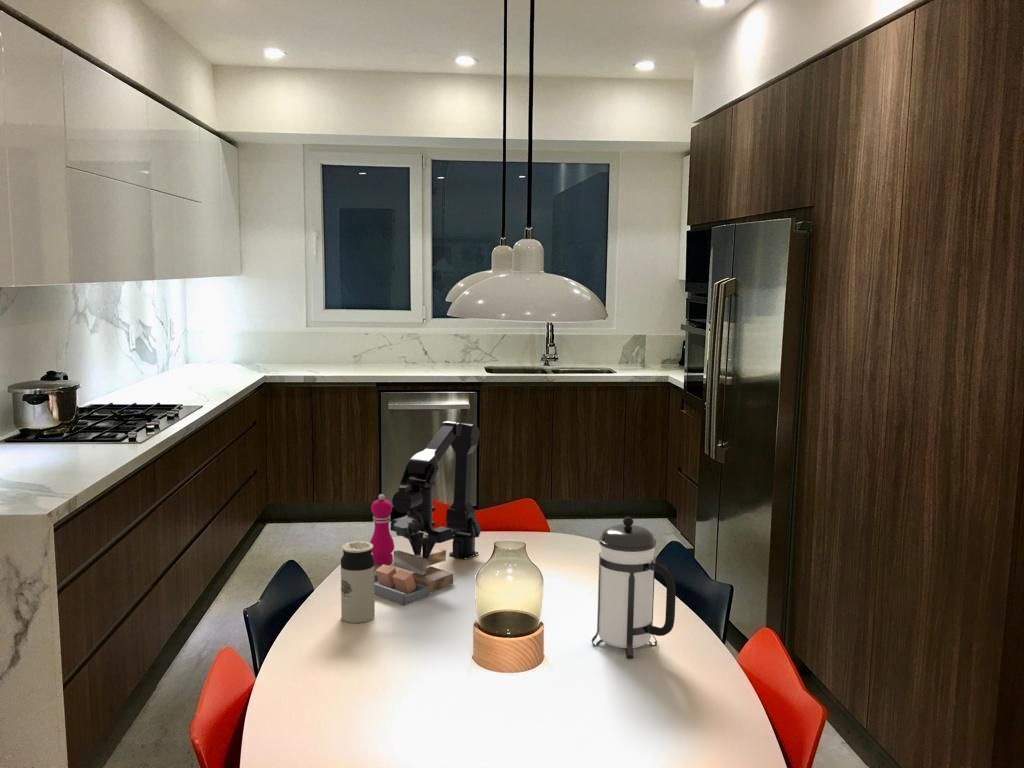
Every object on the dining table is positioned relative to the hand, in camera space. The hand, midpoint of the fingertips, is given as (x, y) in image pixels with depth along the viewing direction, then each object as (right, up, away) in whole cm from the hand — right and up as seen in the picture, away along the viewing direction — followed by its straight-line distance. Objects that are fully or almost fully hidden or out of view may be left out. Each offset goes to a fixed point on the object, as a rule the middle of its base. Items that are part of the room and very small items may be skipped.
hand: (421, 560), depth 236 cm
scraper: (+1, -2, +1) cm, 2 cm away
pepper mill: (-13, -4, +16) cm, 21 cm away
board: (-1, -6, 0) cm, 6 cm away
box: (-7, -7, -8) cm, 12 cm away
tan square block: (-8, -3, -4) cm, 9 cm away
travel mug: (-13, -9, -24) cm, 29 cm away
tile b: (-3, -3, -8) cm, 9 cm away
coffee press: (+51, -12, -38) cm, 65 cm away
